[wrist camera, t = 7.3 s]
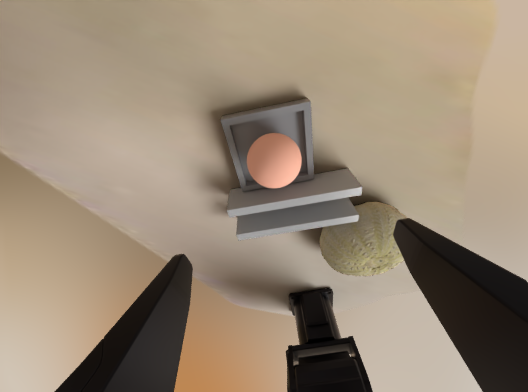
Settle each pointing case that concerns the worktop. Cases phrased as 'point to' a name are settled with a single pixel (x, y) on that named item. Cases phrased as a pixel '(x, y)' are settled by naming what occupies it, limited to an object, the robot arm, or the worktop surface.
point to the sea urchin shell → (363, 241)
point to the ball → (274, 160)
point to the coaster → (264, 122)
